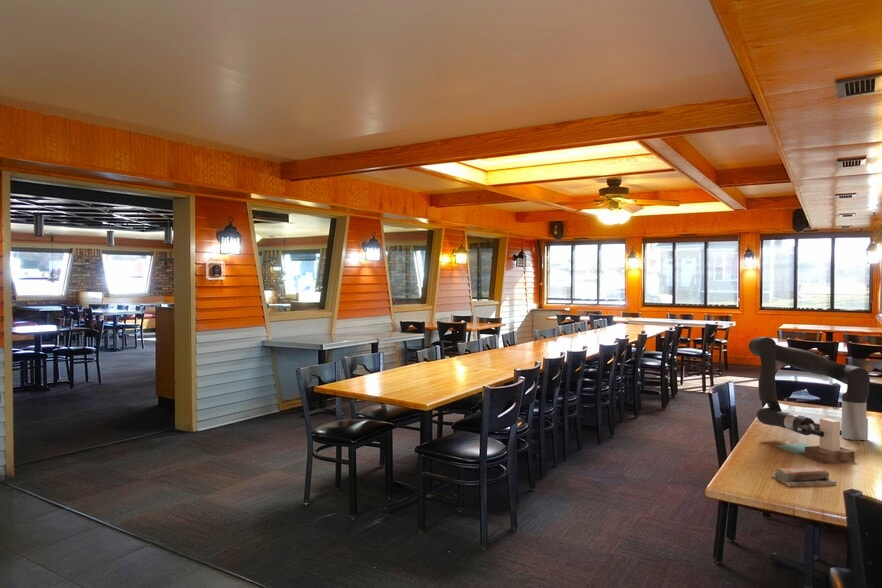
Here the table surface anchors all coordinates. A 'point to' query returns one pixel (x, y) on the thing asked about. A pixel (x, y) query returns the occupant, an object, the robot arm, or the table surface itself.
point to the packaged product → (803, 476)
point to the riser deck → (829, 455)
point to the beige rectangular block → (830, 434)
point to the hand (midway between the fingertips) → (832, 433)
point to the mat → (795, 448)
